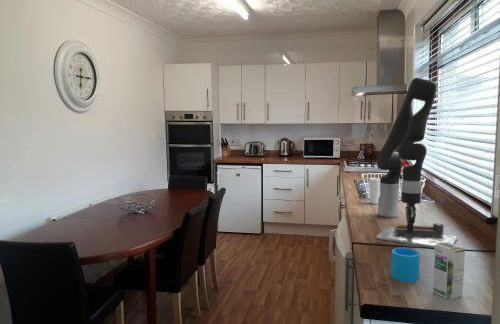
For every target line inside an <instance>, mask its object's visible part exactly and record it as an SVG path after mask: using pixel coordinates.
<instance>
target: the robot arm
mask: <svg viewBox="0 0 500 324" xmlns="http://www.w3.org/2000/svg"><path fill="white" fill-rule="evenodd" d="M437 90H438V84H437V82H435V81H432V80H429V79H424V78H420V77H414V78H412V80H411V81H410V83H409V86H408V89H407V92H406V94H405V97H404V100H403V102H402V105H401V107H400V110H399V112H398V114H397V116H396V119H395V120H394V122H393V125H392V127H391V130H390V132H389V134H388V137H387V138H386V141H385V142H384V145H383V147H382V148H381V150H380V152H379V153H378V155H377V157H376V158H377V159H376V166H377V168H378V169H379V170H382V171H388V172H387V173H385V174H384V175H382V176H381V177H380V197H379V198H378V204H377V209H378V210H377V216H380V217H384V218H396V217H399V198H401V200H400V201H401V203H403V204H406V205H405V206H404V210H405V217H406V218H405V220H406V225H407V232H408V233H413V225H414V224H415V222H416V221H415V220H416V216H417V214H416V213H417V207H416V206H415V205H417V204H421V202H422V200H421V199H422V183H421V182H422V180H421V179H422V168H423V164H424V161H425V159H426V156H427V147H426V144H424V143H420V142H422V141H423V140H424V139H425V135H426V130H427V124H428V120H429V116H430V114H431V110H432V107H433V104H434V101H435V98H436V95H437ZM413 100H416V101H421V102H424V104H423V105H422V107H421V108H420V109H419V110H418V111H416V112H415V113H414V111H413V106H412V105H413ZM397 149H398V151H396V150H397ZM402 160H404V161H415V162H414V164H413V165H405V166H403V169H402ZM401 172H402V182H401V197H399V196H400V195H399V194H400V193H399V190H400V179H401Z"/></svg>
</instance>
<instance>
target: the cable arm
mask: <svg viewBox="0 0 500 324" xmlns="http://www.w3.org/2000/svg"><path fill="white" fill-rule="evenodd" d="M394 227H395V229H394V230H395V232H396V234H412V235H432V236H437V235H443V234H444V227H445V226H444V224H442V223H439V222H438V223H437V222H436V223H435V222H434V223H433V224H432V225H416V224H415V225H414V224H413V233H408V232H407V224H397V225H394Z"/></svg>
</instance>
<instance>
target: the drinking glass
mask: <svg viewBox="0 0 500 324" xmlns="http://www.w3.org/2000/svg"><path fill="white" fill-rule="evenodd" d="M380 178H381V177H380ZM380 178H379V177H370V178H369V182H368V184H369V185H368V186H369V199H370V201H369V203H370V204H372V205H378V198H379V197H380Z"/></svg>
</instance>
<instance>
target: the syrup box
mask: <svg viewBox="0 0 500 324" xmlns="http://www.w3.org/2000/svg"><path fill="white" fill-rule="evenodd" d="M465 254H466V247H465V246H460V245H457V244H455V243H454V244H452V243H449V242H442V243H438V244H435V248H434V255H433V256H434V259H433V277H432V279H433V280H432V282H433V283H432V294H436V295H438V296H441V297H442V298H444V299H446V300H449V301H451V300H454V299H457V298H460V297H462V296H463V293H464V291H463V289H464V278H465V277H464V272H465V257H466V255H465Z"/></svg>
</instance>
